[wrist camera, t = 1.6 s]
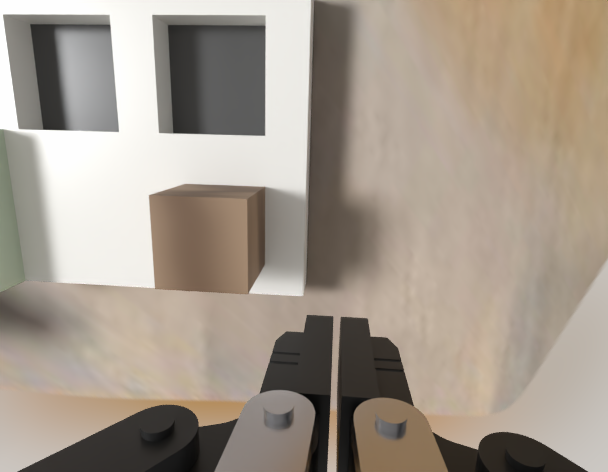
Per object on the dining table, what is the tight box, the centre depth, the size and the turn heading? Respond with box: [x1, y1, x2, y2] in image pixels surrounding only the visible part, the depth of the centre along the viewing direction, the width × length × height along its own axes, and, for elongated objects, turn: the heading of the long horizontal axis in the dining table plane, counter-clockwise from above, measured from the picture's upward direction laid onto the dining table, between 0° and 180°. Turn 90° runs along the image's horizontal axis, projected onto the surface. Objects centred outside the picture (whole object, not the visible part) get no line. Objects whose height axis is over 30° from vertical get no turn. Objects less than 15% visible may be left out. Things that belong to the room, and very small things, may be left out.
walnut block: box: [149, 184, 265, 294], centre depth 23 cm, size 5×5×5 cm
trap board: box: [0, 0, 314, 296], centre depth 25 cm, size 20×18×5 cm
